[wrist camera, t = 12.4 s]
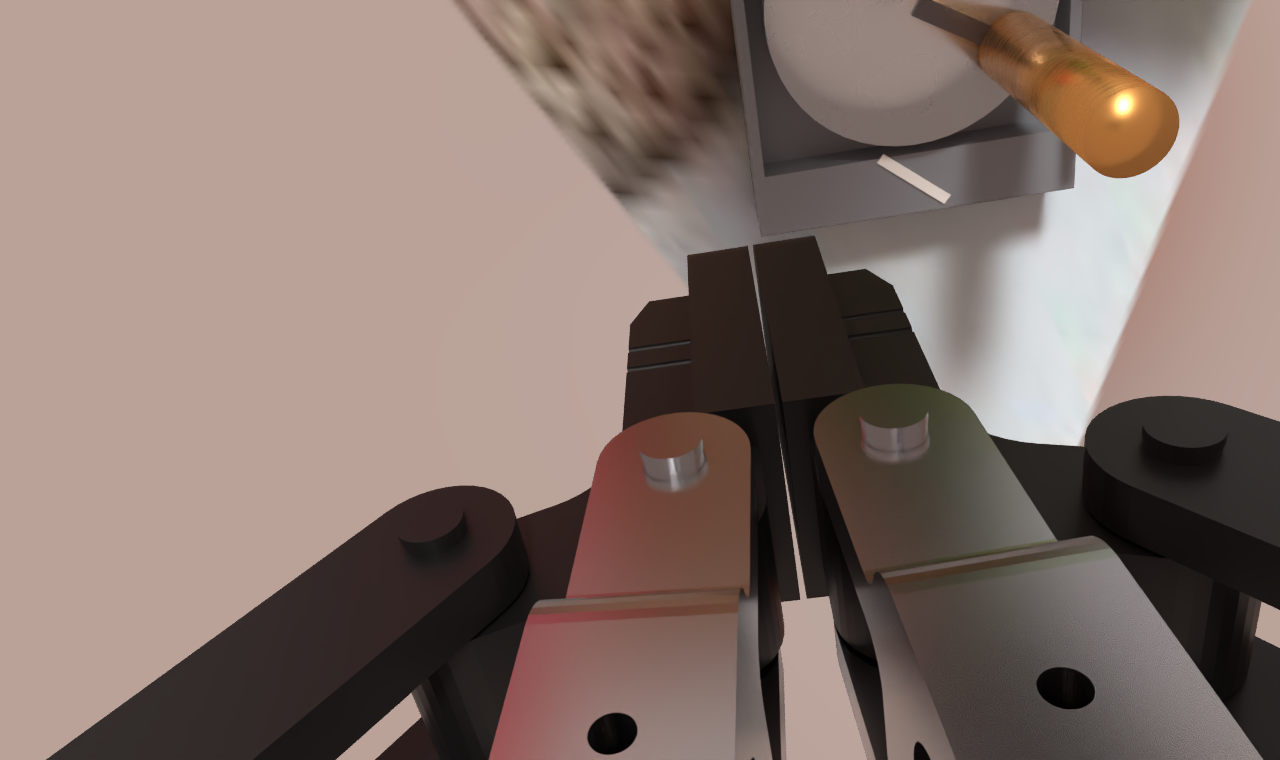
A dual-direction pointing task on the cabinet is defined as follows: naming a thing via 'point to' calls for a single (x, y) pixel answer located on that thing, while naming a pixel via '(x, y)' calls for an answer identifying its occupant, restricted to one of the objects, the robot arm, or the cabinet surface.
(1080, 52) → the dial
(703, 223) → the cabinet surface
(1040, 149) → the housing
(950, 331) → the cabinet surface
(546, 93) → the cabinet surface
